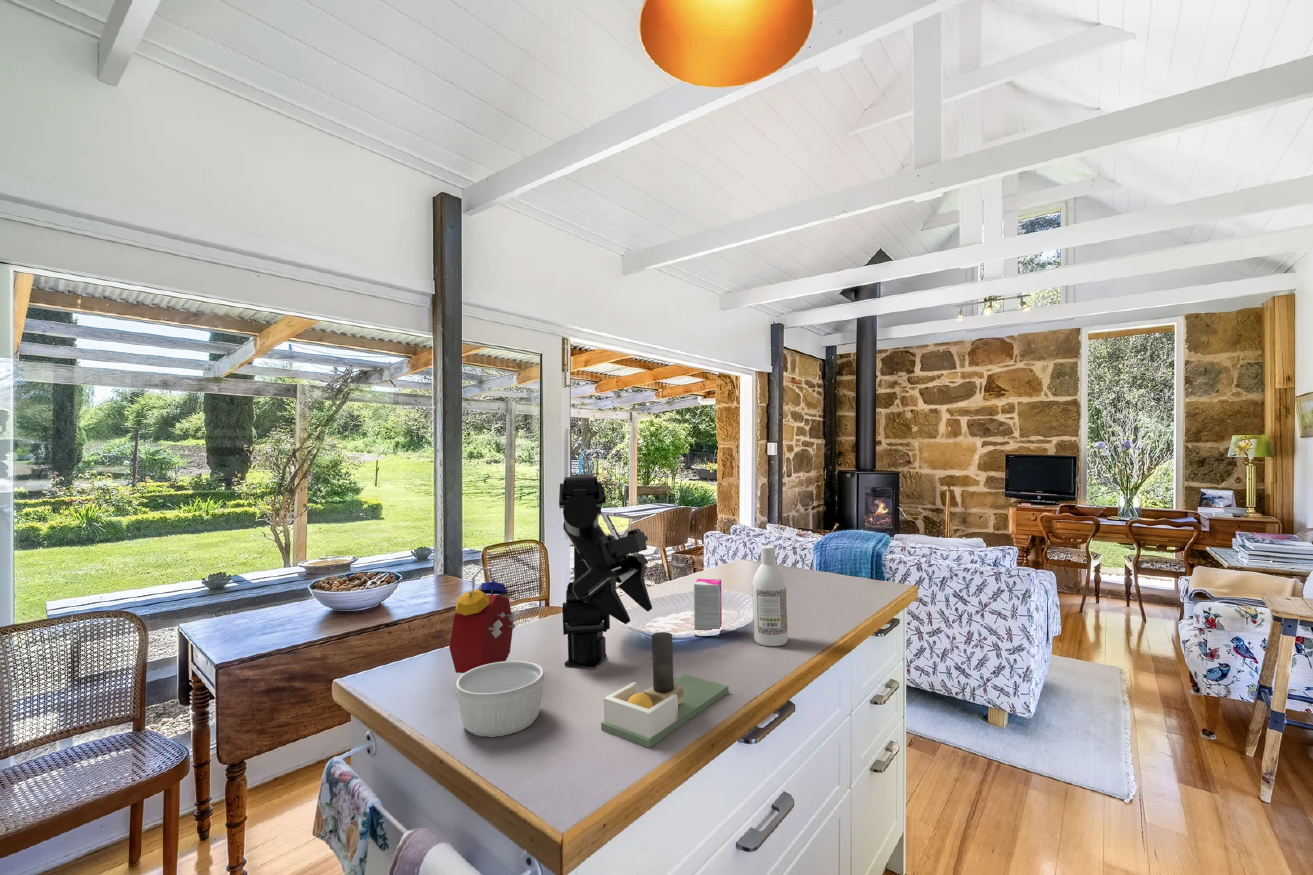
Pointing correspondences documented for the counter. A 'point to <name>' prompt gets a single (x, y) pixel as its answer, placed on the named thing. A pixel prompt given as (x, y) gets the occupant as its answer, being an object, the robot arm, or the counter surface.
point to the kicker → (663, 670)
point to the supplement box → (707, 604)
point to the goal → (639, 712)
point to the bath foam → (769, 601)
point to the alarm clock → (482, 626)
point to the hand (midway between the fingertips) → (639, 615)
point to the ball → (641, 700)
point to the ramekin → (500, 697)
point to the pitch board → (695, 701)
